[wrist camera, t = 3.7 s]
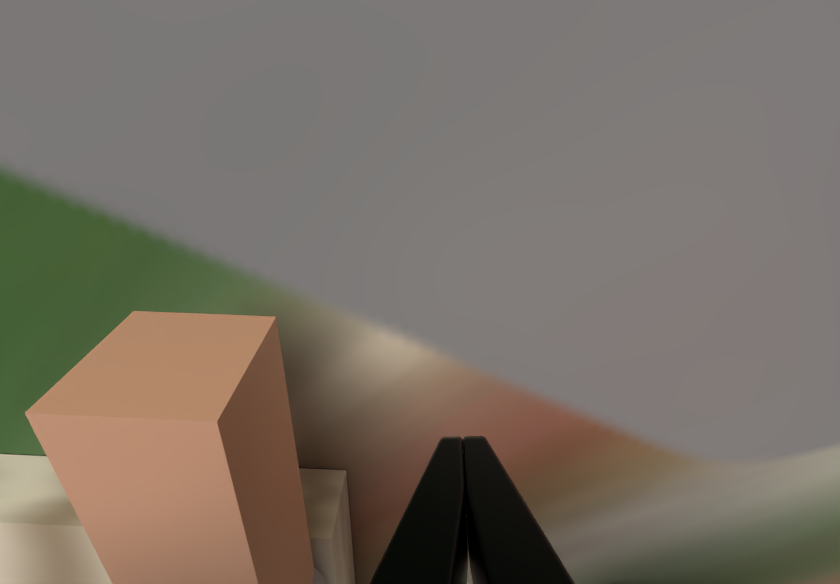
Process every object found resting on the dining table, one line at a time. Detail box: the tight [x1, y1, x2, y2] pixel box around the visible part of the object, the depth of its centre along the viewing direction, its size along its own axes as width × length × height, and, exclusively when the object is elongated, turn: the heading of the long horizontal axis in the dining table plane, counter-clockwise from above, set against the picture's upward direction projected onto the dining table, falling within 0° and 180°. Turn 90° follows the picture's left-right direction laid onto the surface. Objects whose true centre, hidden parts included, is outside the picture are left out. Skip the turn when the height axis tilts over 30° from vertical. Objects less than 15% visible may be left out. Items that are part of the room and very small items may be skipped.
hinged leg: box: [25, 311, 327, 584], centre depth 12 cm, size 12×4×3 cm, turn 179°
